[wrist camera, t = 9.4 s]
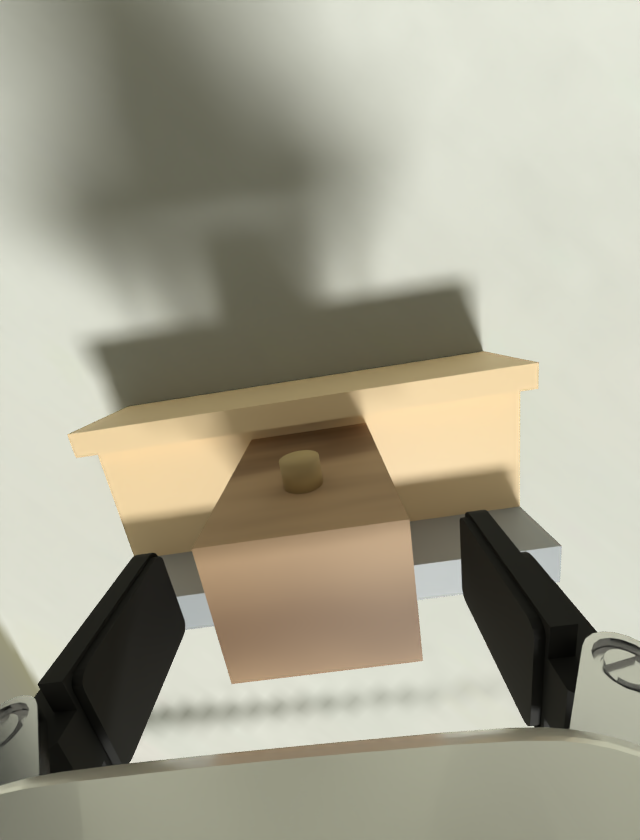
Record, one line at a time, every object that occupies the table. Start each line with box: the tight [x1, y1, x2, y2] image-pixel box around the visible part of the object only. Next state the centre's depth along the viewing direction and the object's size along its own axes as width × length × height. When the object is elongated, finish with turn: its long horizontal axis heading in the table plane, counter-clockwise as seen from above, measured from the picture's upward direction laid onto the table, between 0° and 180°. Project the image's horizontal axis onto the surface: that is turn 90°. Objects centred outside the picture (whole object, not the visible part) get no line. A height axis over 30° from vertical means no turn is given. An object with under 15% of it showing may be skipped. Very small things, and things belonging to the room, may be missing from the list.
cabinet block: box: [191, 423, 423, 684], centre depth 14 cm, size 6×6×9 cm
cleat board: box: [68, 351, 562, 630], centre depth 19 cm, size 10×22×8 cm, turn 99°
